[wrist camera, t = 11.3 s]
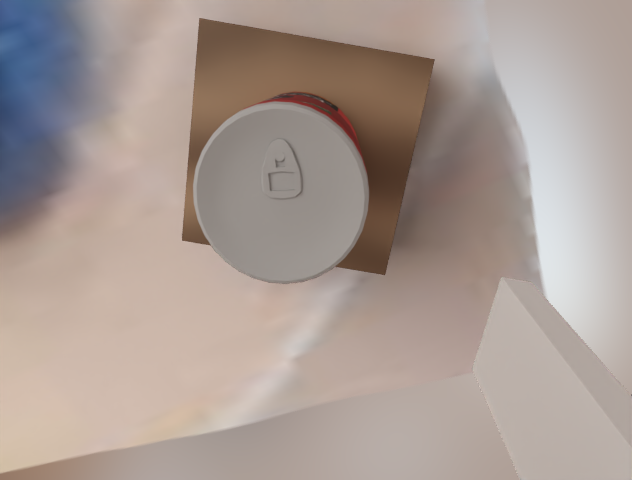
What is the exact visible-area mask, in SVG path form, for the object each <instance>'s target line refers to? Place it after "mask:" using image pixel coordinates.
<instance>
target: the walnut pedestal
mask: <svg viewBox="0 0 632 480" xmlns="http://www.w3.org/2000/svg"><path fill="white" fill-rule="evenodd" d="M434 60H435V59H429V58H424V57H418V56H412V55H407V54H401V53H395V52H390V51H384V50H378V49H372V48H367V47H361V46H355V45H350V44H344V43H338V42H333V41H327V40H321V39H315V38H310V37H304V36H298V35H293V34H287V33H281V32H276V31H270V30H264V29H259V28H253V27H247V26H241V25H236V24H230V23H224V22H219V21H213V20H207V19H202V18H199V30H198V43H197V56H196V68H195V81H194V94H193V106H192V119H191V132H190V144H189V157H188V170H187V182H186V195H185V208H184V220H183V233H182V241H188V242H194V243H200V244H206V245H211V244H210V243H209V241H208V240H207V238H206V237H205V235H204V233H203V231H202V229H201V226H200V224H199V222H198V219H197V215H196V211H195V206H194V198H193V182H194V175H195V169H196V166H197V163H198V160H199V157H200V155H201V152H202V150H203V148H204V147H205V145H206V144H207V142H208V140H209V139H210V137H211V136H212V135H213V133H214V132H215V131H216V130H217V129H218V128H219V127H220V126H221V125H222V124H223V123H224V122H225V121H226V120H227V119H229V118H230V117H232V116H233V115H235V114H236V113H238V112H239V111H241V110H243V109H244V108H247V107H249V106H252V105H254V104H257V103H259V102H262V101H264V100H267V99H269V98H272V97H274V96H277V95H279V94H282V93H288V92H308V93H312V94H315V95H319V96H321V97H323V98H325V99H327V100H329V101H330V102H332V103H333V104H334V105H335V106H337V107H338V108H339V109H340V110H341V111H342V112H343V113H344V114H345V116H346V117H347V118H348V119H349V121H350V123H351V125H352V127H353V128H354V130H355V133H356V136H357V139H358V143H359V146H360V149H361V153H362V156H363V160H364V163H365V166H366V170H367V176H368V185H369V203H368V212H367V216H366V220H365V223H364V227H363V230H362V232H361V234H360V236H359V238H358V240H357V242H356V244H355V246H354V247H353V248H352V250H351V251H350V252H349V253H348V255H347V256H346V257H345V258H344V259H343V260H342V261H341V262H340V263H338V264H337V265H336V266H335V267H341V268H347V269H353V270H358V271H364V272H370V273H376V274H382V275H385V273H386V268H387V264H388V260H389V255H390V251H391V247H392V242H393V238H394V234H395V229H396V225H397V221H398V216H399V212H400V207H401V203H402V199H403V194H404V190H405V186H406V181H407V177H408V173H409V168H410V164H411V160H412V155H413V151H414V147H415V142H416V138H417V134H418V129H419V125H420V121H421V116H422V112H423V108H424V103H425V99H426V95H427V90H428V86H429V81H430V77H431V73H432V68H433V64H434Z"/></svg>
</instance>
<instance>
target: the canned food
mask: <svg viewBox="0 0 632 480" xmlns="http://www.w3.org/2000/svg"><path fill="white" fill-rule="evenodd" d="M193 198H194V206H195V211H196V215H197V219H198V222H199V224H200V226H201V229H202V231H203V233H204V235H205V237H206V238H207V240H208V241H209V243H210V244H211V246H212V247H213V249H214V250H215V251H216V252H217V253H218V254H219V255H220V256H221V257H222V258H223V259H224V260H225V262H227V263H228V264H230V265H231V266H232V267H234V268H235V269H237V270H238V271H239V272H241V273H244V274H246V275H248V276H250V277H252V278H254V279H258V280H262V281H266V282H269V283H282V284H289V283H297V282H304V281H307V280H310V279H313V278H316V277H319V276H320V275H322V274H324V273H326V272H328V271H329V270H331V269H333V268H334V267H335V266H336V265H337V264H338V263H340V262H341V261H342V260H343V259H344V258H345V257H346V256H347V255H348V253H349V252H350V251H351V250H352V248H353V247H354V246H355V244H356V242H357V240H358V238H359V236H360V234H361V232H362V230H363V227H364V223H365V220H366V216H367V212H368V203H369V185H368V176H367V170H366V166H365V163H364V160H363V156H362V153H361V149H360V146H359V143H358V139H357V136H356V133H355V130H354V128H353V127H352V125H351V123H350V121H349V119H348V118H347V117H346V116H345V114H344V113H343V112H342V111H341V110H340V109H339V108H338V107H337V106H335V105H334V104H333V103H332V102H330V101H329V100H327V99H325V98H323V97H321V96H319V95H315V94H312V93H308V92H288V93H282V94H279V95H277V96H274V97H272V98H269V99H267V100H264V101H262V102H259V103H257V104H254V105H252V106H249V107H247V108H244V109H243V110H241V111H239V112H238V113H236V114H235V115H233V116H232V117H230V118H229V119H227V120H226V121H225V122H224V123H223V124H222V125H221V126H220V127H219V128H218V129H217V130H216V131H215V132H214V133H213V135H212V136H211V137H210V139H209V140H208V142H207V144H206V145H205V147H204V148H203V150H202V152H201V155H200V157H199V160H198V163H197V166H196V169H195V175H194V182H193Z"/></svg>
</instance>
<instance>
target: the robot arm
mask: <svg viewBox="0 0 632 480" xmlns="http://www.w3.org/2000/svg"><path fill="white" fill-rule="evenodd" d="M472 370H473V373H474V375H475V377H476V380H477V382H478V384H479V386H480V389H481V391H482V393H483V395H484V398H485V400H486V402H487V405H488V407H489V409H490V412H491V414H492V416H493V419H494V421H495V423H496V426H497V427H498V430H499V432H500V435H501V437H502V439H503V441H504V444H505V446H506V448H507V451H508V453H509V455H510V458H511V460H512V462H513V464H514V467H515V469H516V472H517V474H518V476H519V478H520V480H632V395H630V394H629V392H628V391H627V390H626V389H625V388H624V387H623V386H622V384H621V383H620V382H619V381H618V380H617V379H616V378H615V376H614V375H613V374H612V373H611V372H610V371H609V370H608V368H607V367H606V366H605V365H604V364H603V363H602V362H601V361H600V360H599V358H598V357H597V356H596V355H595V354H594V353H593V351H592V350H591V349H590V348H589V347H588V346H587V345H586V343H585V342H584V341H583V340H582V339H581V338H580V337H579V336H578V334H577V333H576V332H575V331H574V330H573V329H572V328H571V327H570V325H569V324H568V323H567V322H566V321H565V320H564V318H563V317H562V316H561V315H560V314H559V313H558V312H557V311H556V309H555V308H554V307H553V306H552V305H551V304H550V303H549V301H548V300H547V299H546V298H545V297H544V296H543V295H542V293H541V292H540V291H539V290H538V289H537V288H536V287H535V286H534V284H533V283H532V282H529V281H523V280H517V279H511V278H505V277H501V280H500V283H499V286H498V289H497V292H496V295H495V299H494V302H493V305H492V308H491V311H490V314H489V317H488V321H487V324H486V327H485V330H484V333H483V336H482V339H481V342H480V346H479V349H478V352H477V355H476V358H475V361H474V364H473V367H472Z"/></svg>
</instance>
